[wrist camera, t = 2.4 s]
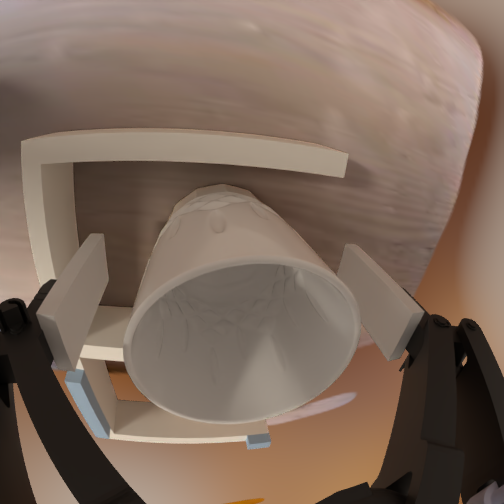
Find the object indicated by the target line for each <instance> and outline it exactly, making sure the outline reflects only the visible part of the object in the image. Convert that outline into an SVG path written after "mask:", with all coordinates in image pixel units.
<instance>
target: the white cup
mask: <svg viewBox="0 0 504 504" xmlns="http://www.w3.org/2000/svg"><path fill="white" fill-rule="evenodd" d="M360 334H361V315H360V310H359V307H358V304H357V301H356V299H355V297H354V296H353V294H352V292H351V291H350V289H349V288H348V287H347V286H346V285H345V284H344V282H343V281H342V280H341V279H340V278H339V277H338V276H337V275H336V274H335V273H334V272H333V271H332V270H331V268H330V267H329V266H328V265H327V264H326V263H325V262H324V261H323V260H322V259H321V258H320V257H319V256H318V255H317V253H316V252H315V251H314V250H313V249H312V248H311V247H310V246H309V245H308V244H307V243H306V242H305V241H304V239H303V238H302V237H301V236H300V235H299V234H298V233H297V232H296V231H295V230H294V229H293V228H292V227H291V226H290V225H288V224H287V223H286V222H285V221H284V220H283V219H282V218H281V217H280V216H279V215H278V214H277V213H276V212H275V211H274V210H273V209H271V208H270V207H268V206H267V205H265V204H264V203H263V202H261V201H260V200H259V199H258V198H257V197H256V196H255V195H254V194H252V193H251V192H250V191H249V190H246V189H242V188H238V187H235V186H231V185H227V184H218V185H213V186H208V187H203V188H198V189H196V190H194V191H193V192H191V193H190V194H189V195H187V196H186V197H185V198H183V199H182V200H181V201H179V202H178V203H177V204H176V205H175V206H174V208H173V210H172V212H171V214H170V216H169V218H168V220H167V222H166V224H165V226H164V227H163V229H162V230H161V232H160V234H159V237H158V239H157V241H156V243H155V246H154V248H153V251H152V254H151V256H150V258H149V260H148V263H147V266H146V268H145V271H144V275H143V277H142V280H141V284H140V287H139V290H138V293H137V296H136V299H135V302H134V305H133V309H132V312H131V315H130V318H129V322H128V325H127V328H126V332H125V336H124V341H123V358H124V363H125V367H126V370H127V372H128V375H129V376H130V378H131V380H132V382H133V383H134V385H135V386H136V387H137V389H138V390H139V391H140V392H141V393H142V394H143V395H144V396H145V397H146V398H147V399H149V400H150V401H151V402H152V403H154V404H155V405H157V406H158V407H160V408H162V409H163V410H165V411H167V412H169V413H172V414H174V415H176V416H179V417H182V418H185V419H189V420H193V421H197V422H203V423H210V424H242V423H250V422H256V421H261V420H265V419H269V418H273V417H276V416H279V415H282V414H284V413H287V412H289V411H292V410H294V409H296V408H298V407H300V406H302V405H304V404H305V403H307V402H309V401H310V400H312V399H313V398H315V397H316V396H318V395H319V394H321V393H322V392H323V391H325V390H326V389H327V388H328V387H329V386H330V385H331V384H332V383H334V382H335V380H336V379H337V378H338V377H339V376H340V375H341V374H342V373H343V371H344V370H345V369H346V367H347V366H348V364H349V363H350V361H351V359H352V357H353V355H354V353H355V351H356V349H357V346H358V343H359V339H360Z"/></svg>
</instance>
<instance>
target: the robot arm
mask: <svg viewBox="0 0 504 504" xmlns="http://www.w3.org/2000/svg"><path fill="white" fill-rule="evenodd" d="M337 276H338V277H339V278H340V279H341V280H342V281H343V282H344V284H345V285H346V286H347V287H348V288H349V289H350V291H351V292H352V294H353V296H354V297H355V299H356V301H357V304H358V307H359V310H360V315H361V323H362V324H363V326H364V327H365V329H366V330H367V331H368V333H369V334H370V336H371V337H372V339H373V340H374V342H375V343H376V344H377V346H378V347H379V349H380V350H381V352H382V353H383V354H384V356H385V358H386V359H387V361H391V360H395V359H399V358H400V357H401V356H402V354H403V352H404V350H405V349H406V350H407V351H408V352H409V355H408V356H407V358H406V360H405V361H404V363H403V365H402V366H401V368H400V370H399V371H402V369H403V368H404V375H403V381H402V386H401V392H400V397H399V403H398V407H397V412H396V416H395V420H394V425H393V429H392V433H391V437H390V440H389V444H388V448H387V451H386V455H385V458H384V462H383V465H382V468H381V471H380V473H379V476H378V478H377V479H376V480H375V482H374V483H373V485H372V486H371V488H370V487H369V485H368V483H367V482H365V483H362V484H360V485H357V486H354V487H351V488H348V489H344V490H341V491H338V492H336V493H334V494H333V495H331V496H329V497H327V498H325V499H323V500H321V501H320V502H318V503H316V504H458V503H459V497H460V493H461V498H462V502H463V504H504V377H503V375H502V373H501V370H500V368H499V366H498V364H497V361H496V359H495V357H494V355H493V352H492V350H491V348H490V346H489V344H488V342H487V340H486V338H485V336H484V334H483V332H482V330H481V328H480V327H479V325H478V324H477V323H476V322H475V321H473V320H471V319H467V318H464V319H462V320H461V322H460V324H459V326H451V324H450V322H449V321H448V320H447V319H445V318H444V317H442V316H440V315H436V314H434V315H433V314H432V315H429V314H428V313H427V312H426V311H425V309H424V308H423V307H422V306H421V305H420V304H419V303H418V302H417V301H415V299H414V298H413V297H411V295H410V294H409V293H408V292H407V291H406V290H405V289H404V288H402V287H400V286H399V285H398V284H397V283H396V282H395V281H394V280H393V279H392V278H391V277H390V276H389V275H388V274H387V273H386V272H385V271H384V270H383V269H382V268H381V267H380V266H379V265H378V264H377V263H376V262H375V261H374V260H373V259H372V258H371V257H369V256H368V255H367V254H366V253H365V252H364V251H363V250H362V249H361V248H360V247H359V246H358V245H357V244H345V247H344V251H343V254H342V258H341V262H340V265H339V269H338V272H337ZM108 281H109V276H108V268H107V260H106V250H105V240H104V234H98V233H91V234H90V235H89V236H88V237H87V239H86V240H85V241H84V243H83V244H82V245H81V247H80V248H79V249H78V251H77V252H76V253H75V255H74V256H73V258H72V259H71V260H70V262H69V263H68V265H67V266H66V268H65V269H64V270H63V272H62V273H61V275H60V276H59V278H58V279H57V280H56V279H50V280H49V281H47V282H46V283H45V284H43V285H42V287H41V288H40V290H39V291H38V294H36V296H35V297H34V300H32V302H31V303H30V305H29V306H28V308H26V305H25V303H24V301H23V300H21V299H19V298H12V299H8V300H5V301H4V302H2V303H1V304H0V329H1V331H0V504H37V503H36V501H35V497H34V494H33V491H32V488H31V485H30V481H29V478H28V474H27V470H26V466H25V462H24V458H23V453H22V448H21V444H20V438H19V433H18V426H17V419H16V412H15V403H14V392H13V383H17V385H18V388H19V390H20V393H21V396H22V398H23V401H24V403H25V406H26V408H27V411H28V413H29V415H30V418H31V420H32V422H33V424H34V427H35V429H36V431H37V433H38V435H39V437H40V439H41V441H42V443H43V445H44V447H45V449H46V451H47V452H48V455H49V456H50V458H51V460H52V462H53V463H54V465H55V467H56V469H57V470H58V472H59V474H60V475H61V477H62V479H63V480H64V482H65V483H66V485H67V486H68V488H69V489H70V491H71V492H72V494H73V495H74V497H75V498H76V500H77V501H78V502H79V504H146V503H145V502H144V501H143V500H142V499H141V498H140V497H139V496H138V495H137V493H136V492H135V491H134V490H133V489H132V488H131V487H130V486H129V485H128V483H127V482H126V481H125V480H124V479H123V478H122V476H121V475H120V474H119V473H118V472H117V470H116V469H115V468H114V467H113V466H112V464H111V463H110V462H109V460H108V459H107V458H106V456H105V455H104V454H103V452H102V451H101V450H100V448H99V447H98V445H97V444H96V443H95V441H94V440H93V438H92V437H91V435H90V434H89V433H88V431H87V429H86V428H85V426H84V425H83V423H82V422H81V420H80V419H79V417H78V415H77V414H76V412H75V411H74V409H73V407H72V405H71V404H70V402H69V400H68V398H67V397H66V395H65V393H64V391H63V390H62V388H61V386H60V384H59V382H58V380H57V378H56V376H55V374H54V372H53V370H52V368H51V365H52V362H53V359H54V361H55V363H56V366H57V368H58V369H60V370H66V371H72V372H75V369H76V366H77V363H78V360H79V357H80V354H81V351H82V348H83V345H84V342H85V340H86V337H87V334H88V331H89V329H90V326H91V323H92V321H93V318H94V315H95V313H96V310H97V308H98V305H99V303H100V300H101V298H102V296H103V293H104V291H105V288H106V286H107V284H108ZM466 356H467V362H466V364H465V365H464V366H463V365H462V362H463V360H464V359H465V357H466Z"/></svg>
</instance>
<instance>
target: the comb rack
mask: <svg viewBox="0 0 504 504" xmlns="http://www.w3.org/2000/svg"><path fill="white" fill-rule="evenodd" d="M348 155H349V154H348V153H345V152H342V151H339V150H336V149H333V148H329V147H326V146H323V145H319V144H316V143H311V142H305V141H299V140H292V139H286V138H279V137H271V136H263V135H255V134H246V133H236V132H225V131H213V130H197V129H175V128H114V129H93V130H78V131H66V132H56V133H51V134H47V135H43V136H38V137H34V138H30V139H26V140H22V141H21V168H22V184H23V195H24V204H25V212H26V220H27V226H28V232H29V238H30V244H31V249H32V254H33V258H34V263H35V267H36V272H37V276H38V280H39V284H40V287H42V285H43V284H45V283H46V282H47V281H49V280H50V279H56V280H57V279H58V278H59V276H60V275H61V273H62V272H63V270H64V269H65V268H66V266H67V265H68V263H69V262H70V260H71V259H72V258H73V256H74V255H75V253H76V252H77V251H78V249H79V240H78V232H77V222H76V211H75V198H74V178H73V162H91V161H174V162H197V163H214V164H229V165H241V166H253V167H263V168H272V169H281V170H290V171H298V172H306V173H313V174H320V175H327V176H333V177H340V178H344V176H345V171H346V166H347V160H348ZM132 309H133V307H115V306H99V305H98V308H97V310H96V313H95V315H94V318H93V321H92V323H91V326H90V329H89V331H88V334H87V337H86V340H85V342H84V345H83V348H82V351H81V354H80V357H79V360H78V363H77V366H76V369H75V372H72V371H67V374H66V378H65V383H66V385H67V387H68V389H69V391H70V393H71V395H72V397H73V399H74V400H75V402H76V404H77V406H78V408H79V409H80V411H81V413H82V415H83V416H84V418H85V420H86V421H87V423H88V425H89V426H90V428H91V430H92V431H93V433H94V434H95V436H96V437H99V438H106V439H118V440H127V441H138V442H154V443H221V442H236V441H246V443H247V448H248V449H257V448H265V447H269V446H270V444H271V439H270V435H269V432H268V428H267V424H266V420H261V421H256V422H250V423H242V424H210V423H203V422H197V421H193V420H189V419H185V418H182V417H179V416H176V415H174V414H172V413H169V412H167V411H165V410H163V409H162V408H160V407H158V406H157V405H155V404H154V403H152V402H139V401H126V400H118V399H117V396H116V393H115V391H114V388H113V385H112V382H111V379H110V376H109V373H108V370H107V367H106V364H105V361H104V360H111V361H123V362H124V358H123V341H124V336H125V332H126V328H127V325H128V322H129V318H130V315H131V312H132Z"/></svg>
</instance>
